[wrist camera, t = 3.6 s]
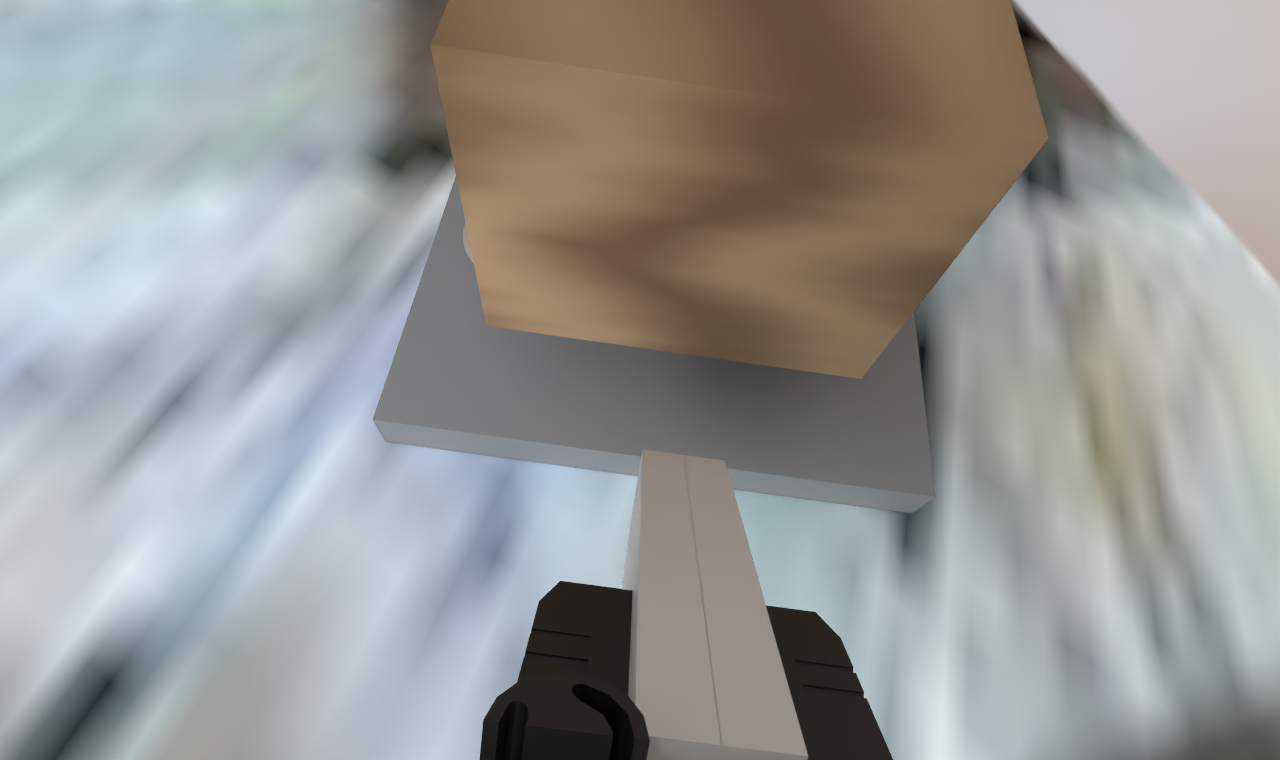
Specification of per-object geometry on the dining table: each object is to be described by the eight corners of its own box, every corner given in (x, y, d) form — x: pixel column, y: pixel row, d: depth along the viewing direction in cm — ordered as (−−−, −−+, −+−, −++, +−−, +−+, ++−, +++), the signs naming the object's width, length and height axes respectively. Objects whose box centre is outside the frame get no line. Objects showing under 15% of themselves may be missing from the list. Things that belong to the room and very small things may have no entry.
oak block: (437, 363, 20) (321, 27, 10) (518, 94, 25) (489, -268, 16) (887, 426, 20) (1151, 154, 11) (864, 146, 26) (1022, -181, 17)
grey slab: (385, 441, 20) (312, 318, 14) (527, 6, 31) (517, -162, 25) (912, 513, 20) (1043, 421, 15) (868, 59, 31) (934, -95, 25)
